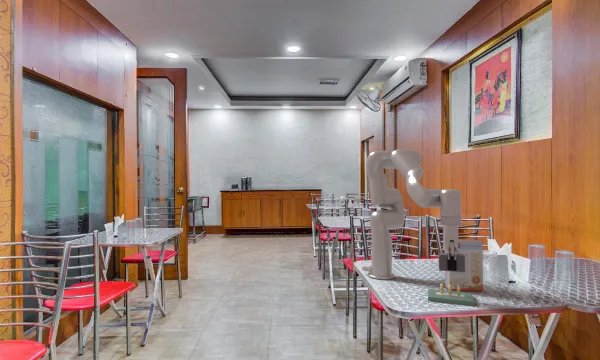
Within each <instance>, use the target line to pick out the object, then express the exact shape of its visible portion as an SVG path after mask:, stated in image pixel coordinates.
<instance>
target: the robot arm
mask: <svg viewBox="0 0 600 360" xmlns="http://www.w3.org/2000/svg"><path fill="white" fill-rule="evenodd" d="M421 164H422V155H421V154H420V152H419V151H418V150H416V149H412V148H397V149H395V150H393V151H390V150H374V151H372V152H370V154H369V155H368V156H367V158H366V161H365V169H366V173H367V177H368V184H369V194H370V195H369V196H370V201H371V202H370V203H371V204H372V205H373V206H374V207H375V208H387V209H378V210H375V211H373V212H372V213H371V214H370V216H369V225H370V232H371V265H369V266H365V265H364V266H363V265H362V271H364V272H367V276H368V277H369V278H371V279H376V280H392V279H395V278H396V274H394V273H393V272H392V271H393V238H392V235H391V234H390V231H391V230H399V229H402V228H403V226H404V224H405V211H404V200H403V196H402V194H401V191H400V190H399V189H397V188H396V187H389V186H388V179H387V176H386V174H385V173H384V171H383V170H382V169H388V170H389V169H390V170H397V171H398V172H399V173H400V174H401V175H402V177H403V178H404V179H405V187H406V192H407V194H408V196H409V197H410V198H411V200H412V201H413V202H414V203H415V204H416V205H417V206H418V207H421V208H424V209H425V208H427V209H428V208H429V209H430V208H435V209H436V208H439V209H440V213H439V214H440V217H439V218H440V220H439V221H440V222H439V223H440V225H441V226H443V227H442V247H443V248H442V249H443V251H444V252H445V251H446V250H447V253H448V259H447V269H448V270H452V271H456V270H457V260H456V252H457V251H458V239H459V227H461V226H462V221H463V220H462V192H461V190H459V189H452V188H449V189H441V188H425V187H424V186H423V185H422V183H421V182H420V179H421V178H422V176H423V175H424V173H425V172H424V171H425V170H424V168H423V167H422V166H421ZM389 230H390V231H389ZM449 253H450V254H449Z"/></svg>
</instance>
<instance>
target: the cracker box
mask: <svg viewBox="0 0 600 360" xmlns="http://www.w3.org/2000/svg"><path fill="white" fill-rule="evenodd" d="M483 243H484V242H483V240H480V239H477V238H474V239H473V238H472V239H470V238H467V239H466V238H465V239H464V238H458V251H457V252H456V254H464V256H465V272H453V271H444V287H445V289H447V291H449V284H452V291H457V285H460V292H483V291H484V258H483V257H484V255H483V253H484V248H483V247H484V244H483ZM444 253H447V250H446V251H444Z"/></svg>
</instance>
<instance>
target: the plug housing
mask: <svg viewBox="0 0 600 360" xmlns="http://www.w3.org/2000/svg"><path fill="white" fill-rule="evenodd" d="M449 254H450V253H449ZM447 259H448V253H445V252H438V270H439V271H442V272H445V271H452V270H448V269H447ZM456 260H457V270H456V271H453V272H465V256H464V254H456Z"/></svg>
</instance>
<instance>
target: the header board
mask: <svg viewBox="0 0 600 360" xmlns="http://www.w3.org/2000/svg"><path fill="white" fill-rule="evenodd" d="M439 288H440V289H435V288H428V289H427V294H428V296H427V301H428V302H434V303H442V304H443V303H444V304H452V305H453V304H455V305H461V306H471V307H476V301H475V299H474V296H473V294H472V292H468V291H460V285H457V291H452V284H449V290H448V289H447V290H446V289H444V283H440V287H439Z"/></svg>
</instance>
